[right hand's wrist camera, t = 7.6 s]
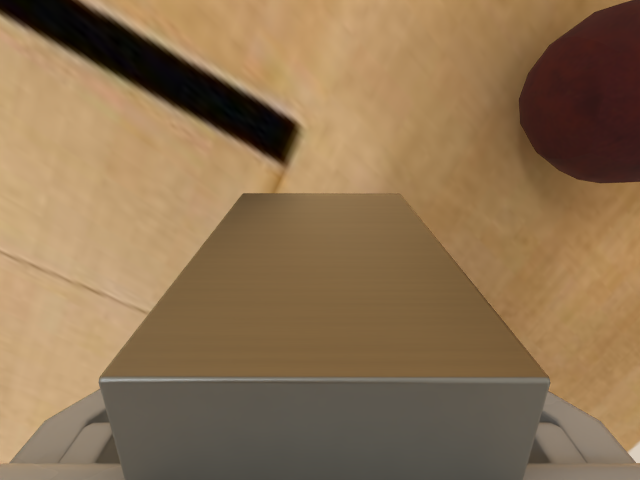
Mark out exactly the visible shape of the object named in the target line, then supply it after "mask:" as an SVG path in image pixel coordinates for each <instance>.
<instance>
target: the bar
mask: <svg viewBox="0 0 640 480" xmlns="http://www.w3.org/2000/svg"><path fill="white" fill-rule="evenodd" d="M99 386H100V389H101V393H102V397H103V400H104V404H105V408H106V412H107V415H108V419H109V423H110V427H111V430H112V434H113V438H114V442H115V445H116V449H117V453H118V456H119V460H120V464H121V468H122V471H123V475H124V479H125V480H523V477H524V474H525V470H526V467H527V463H528V460H529V456H530V453H531V449H532V446H533V442H534V439H535V435H536V432H537V428H538V424H539V421H540V417H541V414H542V410H543V407H544V403H545V400H546V396H547V393H548V389H549V386H550V379H549V377H548V376H547V374H546V373H545V372H544V371H543V369H542V368H541V367H540V366H539V365H538V363H537V362H536V361H535V360H534V358H533V357H532V356H531V355H530V353H529V352H528V351H527V350H526V348H525V347H524V346H523V345H522V344H521V342H520V341H519V340H518V339H517V337H516V336H515V335H514V334H513V332H512V331H511V330H510V329H509V328H508V326H507V325H506V324H505V323H504V321H503V320H502V319H501V318H500V316H499V315H498V314H497V313H496V311H495V310H494V309H493V308H492V307H491V305H490V304H489V303H488V302H487V300H486V299H485V298H484V297H483V295H482V294H481V293H480V292H479V290H478V289H477V288H476V287H475V286H474V284H473V283H472V282H471V281H470V279H469V278H468V277H467V276H466V274H465V273H464V272H463V271H462V269H461V268H460V267H459V266H458V265H457V263H456V262H455V261H454V260H453V258H452V257H451V256H450V255H449V253H448V252H447V251H446V250H445V248H444V247H443V246H442V245H441V244H440V242H439V241H438V240H437V239H436V237H435V236H434V235H433V234H432V232H431V231H430V230H429V229H428V228H427V226H426V225H425V224H424V223H423V221H422V220H421V219H420V218H419V216H418V215H417V214H416V213H415V211H414V210H413V209H412V208H411V207H410V205H409V204H408V203H407V202H406V200H405V199H404V198H403V197H402V195H401V194H268V193H244V194H242V195H241V197H240V198H239V199H238V200H237V202H236V203H235V204H234V206H233V207H232V208H231V209H230V211H229V212H228V213H227V215H226V216H225V217H224V218H223V220H222V221H221V222H220V223H219V225H218V226H217V227H216V229H215V230H214V231H213V232H212V234H211V235H210V236H209V238H208V239H207V240H206V241H205V243H204V244H203V245H202V247H201V248H200V249H199V250H198V252H197V253H196V254H195V256H194V257H193V258H192V259H191V261H190V262H189V263H188V265H187V266H186V267H185V268H184V270H183V271H182V272H181V273H180V275H179V276H178V277H177V279H176V280H175V281H174V282H173V284H172V285H171V286H170V288H169V289H168V290H167V291H166V293H165V294H164V295H163V297H162V298H161V299H160V300H159V302H158V303H157V304H156V306H155V307H154V308H153V309H152V311H151V312H150V313H149V315H148V316H147V317H146V318H145V320H144V321H143V322H142V323H141V325H140V326H139V327H138V329H137V330H136V331H135V332H134V334H133V335H132V336H131V338H130V339H129V340H128V341H127V343H126V344H125V345H124V347H123V348H122V349H121V350H120V352H119V353H118V354H117V356H116V357H115V358H114V359H113V361H112V362H111V363H110V364H109V366H108V367H107V368H106V370H105V371H104V372H103V373H102V375H101V376H100V378H99Z"/></svg>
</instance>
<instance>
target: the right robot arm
mask: <svg viewBox="0 0 640 480" xmlns="http://www.w3.org/2000/svg"><path fill="white" fill-rule="evenodd" d="M0 480H125V479H124V475H123V471H122V468H121V464H120V460H119V456H118V453H117V449H116V445H115V442H114V438H113V434H112V430H111V427H110V423H109V419H108V415H107V412H106V408H105V404H104V400H103V397H102V393H101V389H99V390H97V391H95V392H94V393H92V394H90V395H88V396H87V397H85V398H83V399H82V400H80V401H78V402H76V403H75V404H73V405H71V406H70V407H68V408H66V409H64V410H63V411H61V412H59V413H58V414H56V415H54V416H52V417H51V418H49V419H47V420H46V421H44V423H43V424H42V425H41V426H40V427H39V428H38V430H37V431H36V432H35V433H34V434H33V436H32V437H31V438H30V439H29V440H28V441H27V443H26V444H25V445H24V446H23V447H22V449H21V450H20V451H19V452H18V453H17V454H16V456H15V457H14V458H13V459H12V460H11V462H10V463H0ZM523 480H640V463H636V462H635V461H634V460H633V459H632V457H631V456H630V455H629V454H628V453H627V452H626V450H625V449H624V448H623V447H622V446H621V445H620V443H619V442H618V441H617V440H616V439H615V438H614V436H613V435H612V434H611V433H610V432H609V431H608V429H607V428H606V427H605V426H604V425H603V424H602V422H601V421H599V420H597V419H596V418H594V417H592V416H590V415H589V414H587V413H585V412H583V411H582V410H580V409H578V408H577V407H575V406H573V405H571V404H570V403H568V402H566V401H564V400H563V399H561V398H559V397H558V396H556V395H554V394H552V393H551V392H549V391H548V393H547V396H546V400H545V403H544V407H543V410H542V414H541V417H540V421H539V424H538V428H537V432H536V435H535V439H534V442H533V446H532V449H531V453H530V456H529V460H528V463H527V467H526V470H525V474H524V477H523Z"/></svg>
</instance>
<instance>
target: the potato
mask: <svg viewBox="0 0 640 480" xmlns="http://www.w3.org/2000/svg"><path fill="white" fill-rule="evenodd" d="M519 109H520V124H521V125H522V127H523V129H524V131H525V133H526V135H527V137H528V138H529V140H530V142H531V144H532V146H533V147H534V149H535V150H536V152H537V153H538V154H540V155H541V156H542V157H543V158H545V159H546V160H547V161H548V162H549V163H551V164H552V165H553V166H554V167H556V168H557V169H558V170H559V171H562V172H564V173H566V174H568V175H570V176H572V177H574V178H576V179H579V180H585V181H591V182H597V183H620V182H640V0H632V1H628V2H625V3H622V4H619V5H615V6H612V7H609V8H606V9H603V10H600V11H597V12H594V13H593V14H592V15H590V16H589V17H587V18H586V19H585V20H583V21H582V22H581V23H579V24H578V25H576V26H575V27H574V28H572V29H571V30H570V31H568V32H567V33H566V34H564V35H563V36H561V37H560V38H559V39H557V40H556V41H555V42H553V43H552V44H550V45H549V47H548V48H547V49H546V51H545V52H544V53H543V55H542V56H541V57H540V59H539V60H538V61H537V63H536V64H535V65H534V66H533V68H532V69H531V70H530V72H529V73H528V76H527V79H526V81H525V84H524V87H523V90H522V92H521V95H520V98H519Z"/></svg>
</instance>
